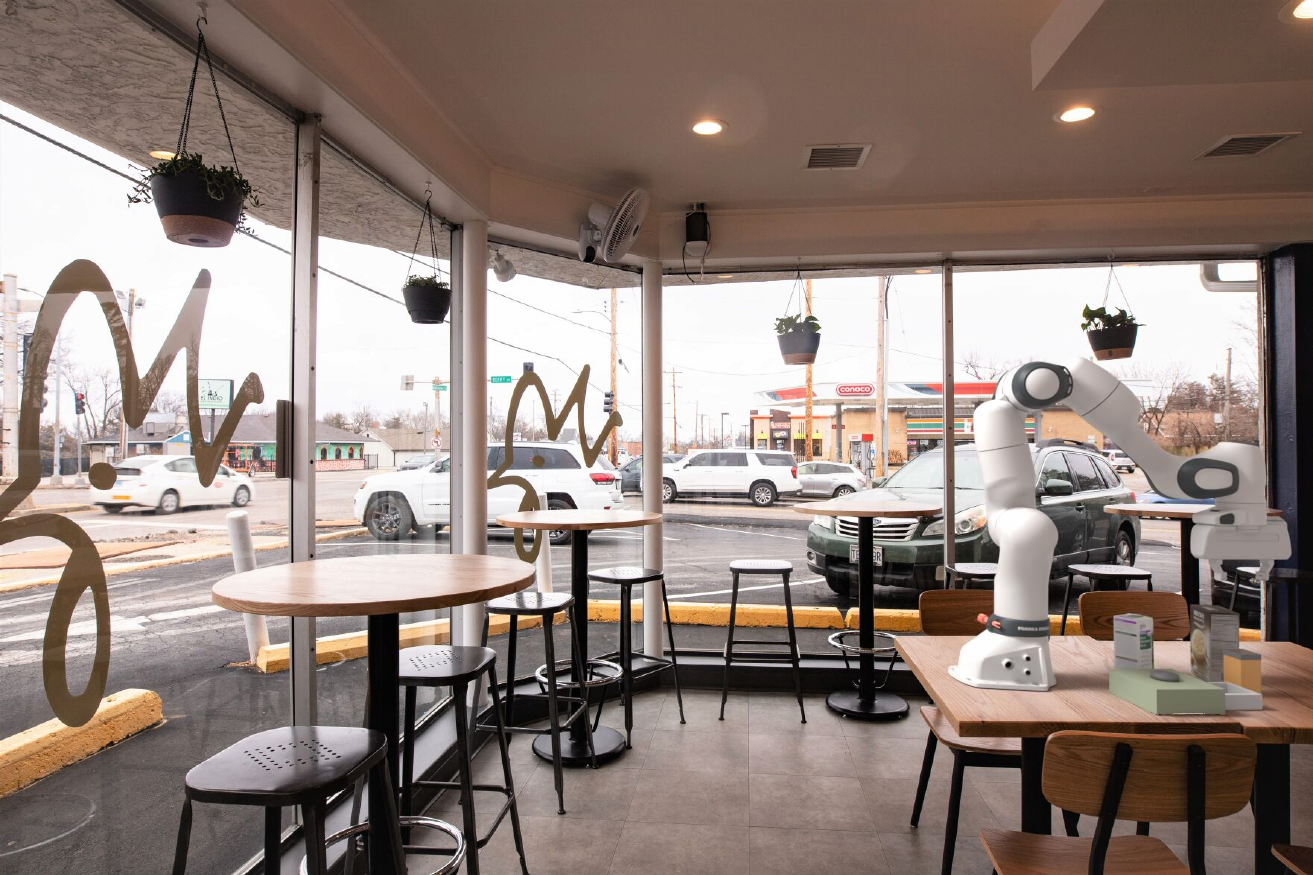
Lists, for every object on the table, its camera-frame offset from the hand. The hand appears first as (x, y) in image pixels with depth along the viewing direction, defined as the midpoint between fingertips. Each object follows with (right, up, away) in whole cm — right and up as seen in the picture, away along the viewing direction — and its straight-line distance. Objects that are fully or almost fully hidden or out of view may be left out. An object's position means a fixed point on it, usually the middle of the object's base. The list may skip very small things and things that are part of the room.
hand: (1241, 580), depth 161 cm
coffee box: (+2, -25, +10) cm, 27 cm away
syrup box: (-18, -25, +8) cm, 31 cm away
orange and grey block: (0, -24, -1) cm, 24 cm away
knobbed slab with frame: (-17, -24, -8) cm, 30 cm away
